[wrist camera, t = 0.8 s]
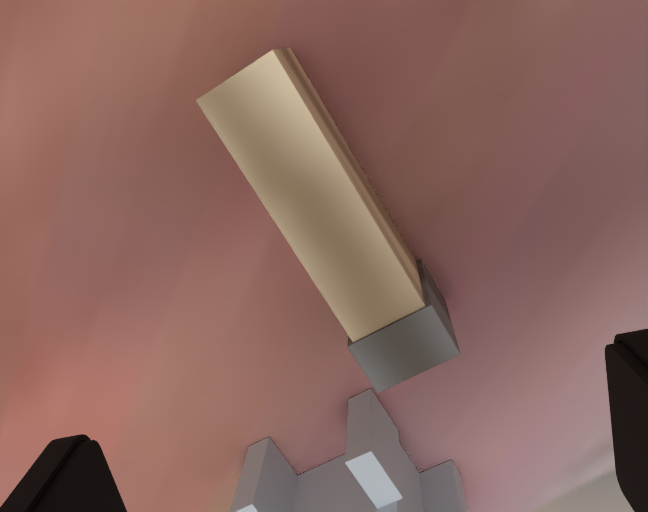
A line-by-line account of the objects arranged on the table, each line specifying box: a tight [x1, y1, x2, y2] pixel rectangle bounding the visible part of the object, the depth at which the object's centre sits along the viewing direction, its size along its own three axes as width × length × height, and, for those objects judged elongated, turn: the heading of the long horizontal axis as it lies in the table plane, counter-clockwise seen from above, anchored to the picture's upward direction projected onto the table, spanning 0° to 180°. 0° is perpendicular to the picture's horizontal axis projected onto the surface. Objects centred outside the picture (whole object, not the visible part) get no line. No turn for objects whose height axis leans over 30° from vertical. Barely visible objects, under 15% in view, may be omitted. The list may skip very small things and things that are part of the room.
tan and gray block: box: [196, 48, 460, 393], centre depth 30 cm, size 5×16×6 cm, turn 31°
